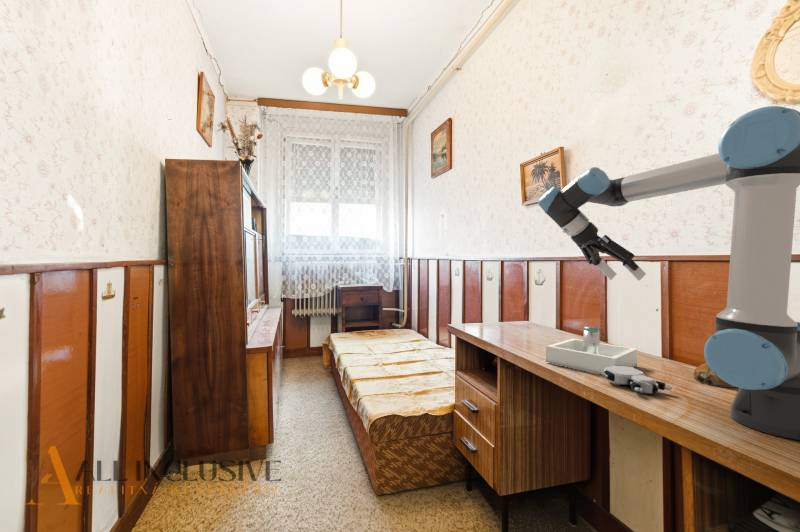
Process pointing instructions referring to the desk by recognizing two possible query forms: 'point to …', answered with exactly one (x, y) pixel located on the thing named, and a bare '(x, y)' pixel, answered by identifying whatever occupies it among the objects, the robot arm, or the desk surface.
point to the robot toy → (633, 379)
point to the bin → (590, 356)
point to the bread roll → (709, 376)
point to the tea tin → (591, 339)
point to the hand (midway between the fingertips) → (627, 277)
